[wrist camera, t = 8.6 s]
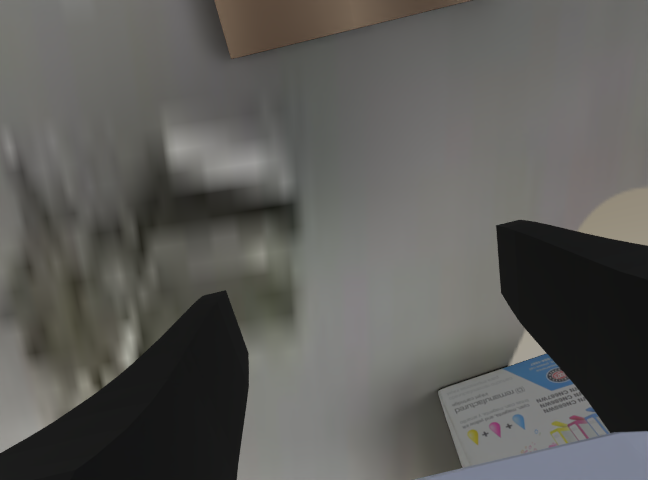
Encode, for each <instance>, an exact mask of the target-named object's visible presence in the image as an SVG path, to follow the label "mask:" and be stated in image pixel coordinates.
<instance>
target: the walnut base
mask: <svg viewBox="0 0 648 480" xmlns="http://www.w3.org/2000/svg"><path fill="white" fill-rule="evenodd" d="M214 1H215V4H216V8H217V11H218V15H219V18H220V22H221V25H222V29H223V32H224V36H225V39H226V43H227V46H228V50H229V53H230V57H231V59H234V58H239V57H243V56H247V55H251V54H255V53H259V52H263V51H267V50H271V49H275V48H279V47H284V46H288V45H292V44H296V43H300V42H304V41H308V40H312V39H316V38H320V37H324V36H328V35H333V34H337V33H341V32H345V31H349V30H353V29H357V28H361V27H365V26H369V25H373V24H378V23H382V22H386V21H390V20H394V19H398V18H402V17H406V16H410V15H414V14H418V13H422V12H427V11H431V10H435V9H439V8H443V7H447V6H451V5H455V4H459V3H463V2H467V1H471V0H214Z"/></svg>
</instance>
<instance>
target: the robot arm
mask: <svg viewBox="0 0 648 480" xmlns="http://www.w3.org/2000/svg"><path fill="white" fill-rule="evenodd" d="M496 229H497V242H498V256H499V269H500V283H501V293H502V295H503V297H504V298H505V300H506V301H507V303H508V305H509V306H510V308H511V310H512V311H513V313H514V314H515V316H516V317H517V319H518V320H519V322H520V323H521V324H522V325H523V326H524V328H525V329H526V330H527V331H528V332H529V333H530V335H531V336H532V337H533V338H534V339H535V340H536V342H538V344H539V345H540V346H541V347H542V348H543V349H544V351H545V352H546V353H547V354H548V355H549V356H550V357H551V359H552V360H553V361H554V362H555V363H556V364H557V365H558V367H559V368H560V369H561V370H562V371H563V372H564V373H565V374H566V376H567V377H568V378H569V379H570V380H571V381H572V382H573V384H574V385H575V386H576V387H577V388H578V390H579V391H580V392H581V393H582V395H583V396H584V397H585V398H586V400H587V401H588V402H589V404H590V405H591V407H592V408H593V409H594V411H595V412H596V414H597V415H598V416H599V418H600V419H601V421H602V422H603V424H604V425H605V426H606V428H607V429H608V431H609V432H610V433H609V434H605V435H601V436H596V437H592V438H588V439H584V440H579V441H575V442H571V443H567V444H562V445H558V446H554V447H550V448H545V449H541V450H537V451H532V452H528V453H524V454H520V455H515V456H511V457H507V458H503V459H498V460H494V461H490V462H486V463H481V464H477V465H473V466H468V467H464V468H460V469H456V470H451V471H447V472H443V473H439V474H434V475H430V476H426V477H422V478H417V479H413V480H648V246H645V245H640V244H634V243H629V242H624V241H618V240H613V239H608V238H604V237H599V236H594V235H590V234H585V233H581V232H577V231H573V230H568V229H564V228H560V227H556V226H551V225H547V224H542V223H538V222H532V221H525V220H517V221H513V222H509V223H505V224H500V225H496ZM248 387H249V361H248V351H247V348H246V345H245V342H244V340H243V337H242V334H241V331H240V328H239V326H238V323H237V320H236V317H235V315H234V312H233V309H232V306H231V303H230V301H229V298H228V295H227V292H226V290H225V291H221V292H217V293H213V294H208V295H204V296H202V297H201V298H200V299H198V300H197V301H196V302H195V303H194V304H193V305H192V306H191V307H190V308H189V309H188V310H187V311H186V312H185V313H184V314H183V315H182V316H181V317H180V318H179V319H178V320H177V321H176V322H175V323H174V324H173V325H172V327H171V328H170V329H169V330H168V331H167V332H166V333H165V334H164V335H163V336H162V337H161V338H160V339H159V340H158V341H156V342H155V343H154V344H153V345H152V346H151V347H150V348H149V349H148V350H147V351H146V352H145V353H144V354H143V355H142V356H140V357H139V358H138V359H137V360H136V361H135V362H134V363H133V364H132V365H131V366H129V367H128V368H127V369H126V370H125V371H124V372H122V373H121V374H120V375H119V376H118V377H116V378H115V379H114V380H112V381H111V382H110V383H109V384H107V385H106V386H105V387H103V388H102V389H101V390H100V391H98V392H97V393H96V394H94V395H93V396H91V397H90V398H89V399H87V400H86V401H84V402H83V403H81V404H80V405H78V406H77V407H75V408H74V409H72V410H71V411H69V412H68V413H66V414H65V415H63V416H62V417H60V418H59V419H58V420H56V421H55V422H53V423H51V424H50V425H48V426H47V427H45V428H43V429H42V430H40V431H38V432H37V433H35V434H33V435H32V436H30V437H28V438H27V439H25V440H23V441H21V442H19V443H18V444H16V445H14V446H12V447H11V448H9V449H7V450H5V451H4V452H2V453H0V480H237V470H238V461H239V454H240V447H241V439H242V432H243V425H244V418H245V411H246V403H247V396H248Z"/></svg>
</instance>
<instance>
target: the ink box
mask: <svg viewBox="0 0 648 480" xmlns="http://www.w3.org/2000/svg"><path fill="white" fill-rule="evenodd" d="M438 394H439V398H440V401H441V405H442V408H443V411H444V414H445V417H446V421H447V423H448V426H449V429H450V432H451V435H452V438H453V441H454V444H455V447H456V450H457V453H458V456H459V459H460V463H461V465H462V468H464V467H468V466H473V465H477V464H481V463H486V462H490V461H494V460H498V459H503V458H507V457H511V456H515V455H520V454H524V453H528V452H532V451H537V450H541V449H545V448H550V447H554V446H558V445H562V444H567V443H571V442H575V441H579V440H584V439H588V438H592V437H596V436H601V435H605V434H609V433H610V432H609V431H608V429H607V428H606V426H605V425H604V424H603V422H602V421H601V419H600V418H599V416H598V415H597V414H596V412H595V411H594V409H593V408H592V407H591V405H590V404H589V402H588V401H587V400H586V398H585V397H584V396H583V395H582V393H581V392H580V391H579V390H578V388H577V387H576V386H575V385H574V384H573V382H572V381H571V380H570V379H569V378H568V377H567V376H566V374H565V373H564V372H563V371H562V370H561V369H560V368H559V367H558V365H557V364H556V363H555V362H554V361H553V360H552V359H551V357H550V356H549V355H548V354H544V355H541V356H538V357H535V358H532V359H529V360H526V361H523V362H520V363H517V364H514V365H511V366H508V367H505V368H502V369H499V370H496V371H493V372H490V373H487V374H484V375H481V376H478V377H475V378H472V379H469V380H466V381H463V382H460V383H458V384H455V385H452V386H449V387H446V388H443V389H441V390H439V391H438Z"/></svg>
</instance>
